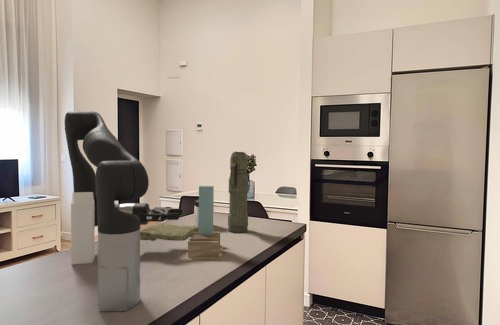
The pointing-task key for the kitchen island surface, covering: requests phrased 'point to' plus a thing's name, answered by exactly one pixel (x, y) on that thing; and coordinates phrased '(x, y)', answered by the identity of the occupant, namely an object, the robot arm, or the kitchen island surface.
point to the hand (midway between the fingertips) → (180, 214)
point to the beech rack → (204, 247)
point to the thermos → (238, 193)
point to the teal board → (206, 210)
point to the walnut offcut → (204, 236)
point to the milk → (82, 228)
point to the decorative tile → (167, 232)
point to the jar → (196, 213)
